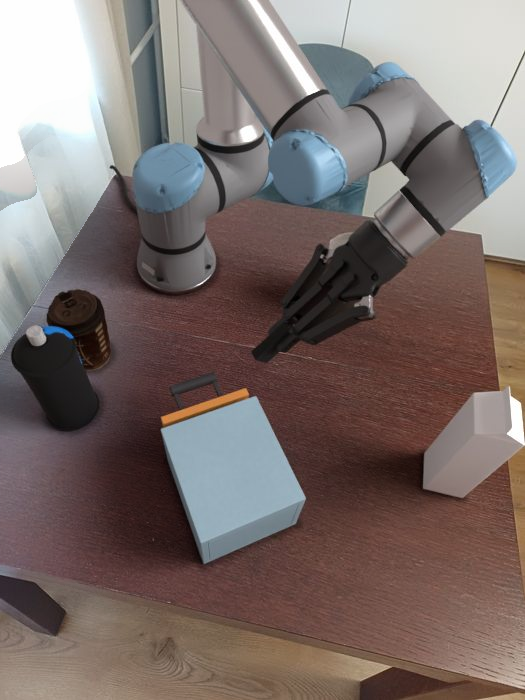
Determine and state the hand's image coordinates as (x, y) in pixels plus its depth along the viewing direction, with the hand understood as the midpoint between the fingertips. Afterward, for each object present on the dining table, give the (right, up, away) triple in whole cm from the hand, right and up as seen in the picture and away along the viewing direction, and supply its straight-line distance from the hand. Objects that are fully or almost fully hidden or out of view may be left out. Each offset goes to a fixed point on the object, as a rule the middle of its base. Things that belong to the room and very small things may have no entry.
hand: (259, 357), depth 69 cm
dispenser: (-4, -20, +3) cm, 20 cm away
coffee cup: (-29, 0, +15) cm, 32 cm away
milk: (+28, -18, +6) cm, 34 cm away
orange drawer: (-6, -15, +5) cm, 17 cm away
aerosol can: (-30, -8, +9) cm, 32 cm away
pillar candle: (+15, +10, +25) cm, 31 cm away
